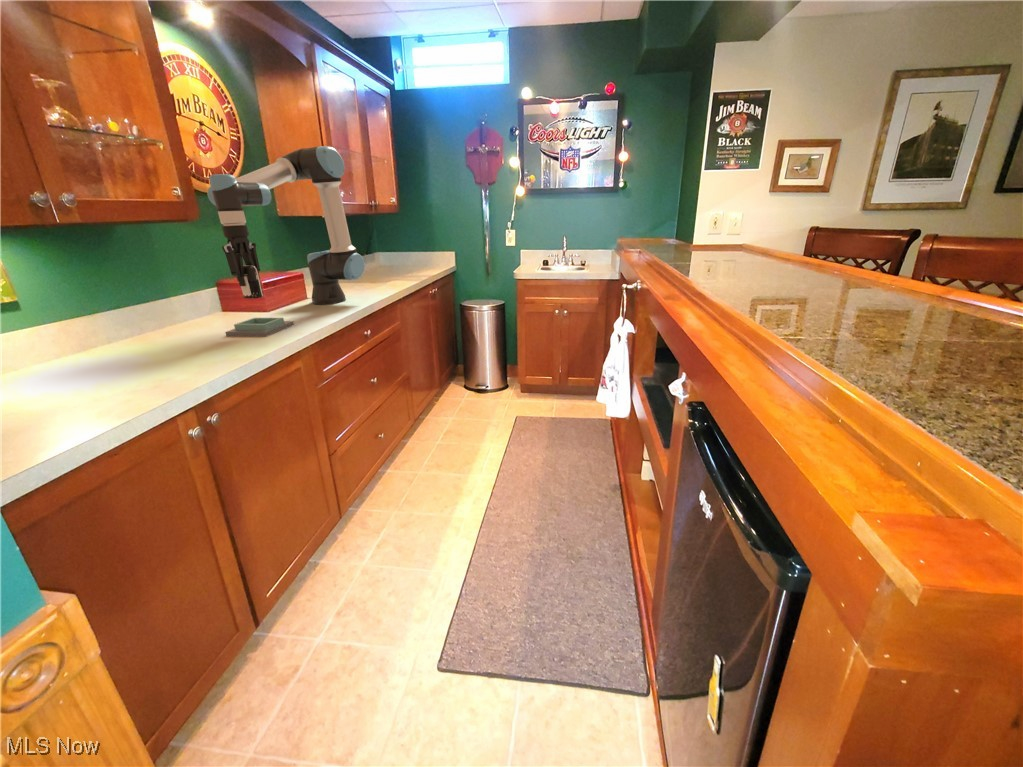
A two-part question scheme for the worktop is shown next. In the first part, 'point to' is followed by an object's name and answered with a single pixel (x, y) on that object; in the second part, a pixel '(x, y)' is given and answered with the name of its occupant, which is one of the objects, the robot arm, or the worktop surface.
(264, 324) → the dock
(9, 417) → the worktop surface
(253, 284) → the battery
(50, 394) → the worktop surface
